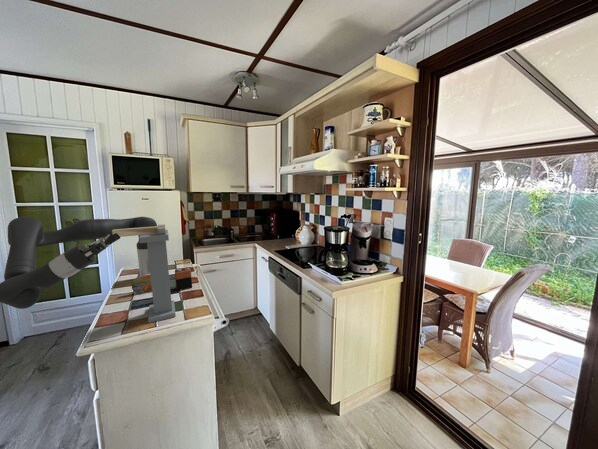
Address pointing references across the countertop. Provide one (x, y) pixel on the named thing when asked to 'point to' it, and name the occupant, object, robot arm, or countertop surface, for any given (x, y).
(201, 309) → the countertop surface
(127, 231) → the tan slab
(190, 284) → the battery
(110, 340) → the countertop surface
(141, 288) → the tin
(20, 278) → the robot arm
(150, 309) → the shelf post
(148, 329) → the countertop surface
